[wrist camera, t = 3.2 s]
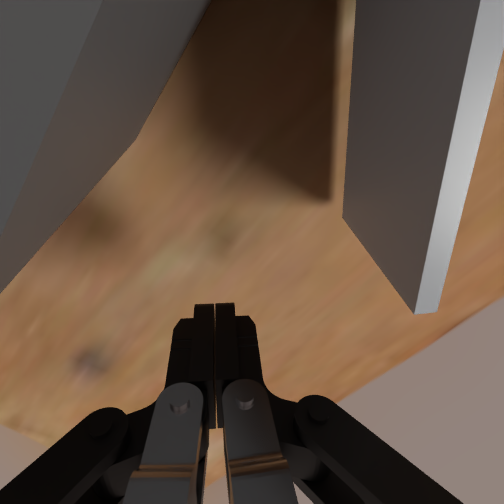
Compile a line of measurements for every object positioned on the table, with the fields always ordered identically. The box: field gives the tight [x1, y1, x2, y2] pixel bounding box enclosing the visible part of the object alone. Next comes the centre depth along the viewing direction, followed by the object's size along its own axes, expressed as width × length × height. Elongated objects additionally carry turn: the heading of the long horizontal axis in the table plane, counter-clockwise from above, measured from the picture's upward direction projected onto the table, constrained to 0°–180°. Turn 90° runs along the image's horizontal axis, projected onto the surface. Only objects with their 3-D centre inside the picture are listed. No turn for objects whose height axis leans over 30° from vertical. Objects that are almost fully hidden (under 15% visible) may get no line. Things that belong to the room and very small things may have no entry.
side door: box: [342, 0, 504, 315], centre depth 10 cm, size 1×14×7 cm, turn 4°
